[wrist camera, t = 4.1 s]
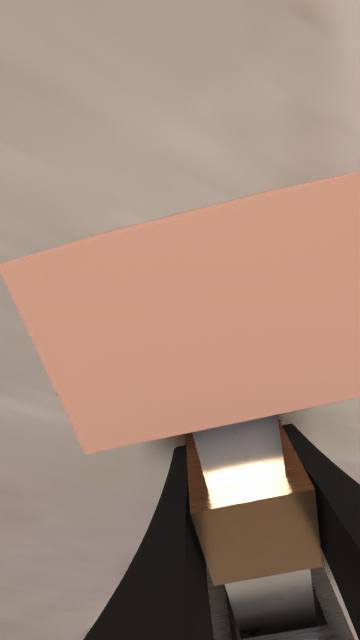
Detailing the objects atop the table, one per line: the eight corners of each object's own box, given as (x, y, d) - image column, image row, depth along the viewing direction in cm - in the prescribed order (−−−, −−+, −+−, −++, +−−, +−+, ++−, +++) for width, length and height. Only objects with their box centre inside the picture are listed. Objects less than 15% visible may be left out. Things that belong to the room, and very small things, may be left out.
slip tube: (301, 600, 16) (335, 702, 13) (238, 610, 16) (255, 714, 13) (263, 340, 10) (306, 402, 7) (166, 362, 11) (164, 432, 7)
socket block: (281, 297, 13) (399, 388, 6) (128, 332, 13) (85, 454, 6) (269, 191, 11) (409, 160, 5) (96, 234, 11) (-3, 265, 5)
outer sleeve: (299, 578, 20) (361, 757, 13) (228, 590, 20) (255, 772, 14) (283, 474, 16) (358, 649, 10) (198, 491, 17) (216, 671, 10)
